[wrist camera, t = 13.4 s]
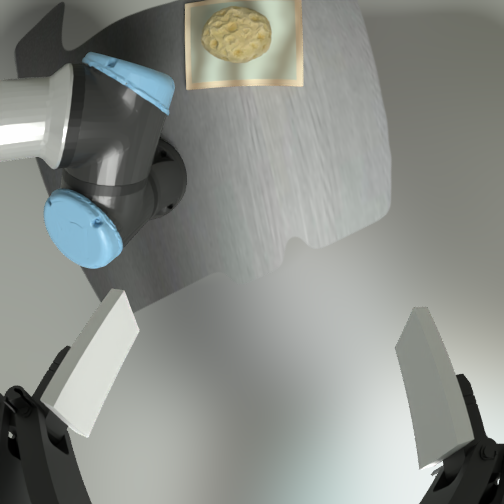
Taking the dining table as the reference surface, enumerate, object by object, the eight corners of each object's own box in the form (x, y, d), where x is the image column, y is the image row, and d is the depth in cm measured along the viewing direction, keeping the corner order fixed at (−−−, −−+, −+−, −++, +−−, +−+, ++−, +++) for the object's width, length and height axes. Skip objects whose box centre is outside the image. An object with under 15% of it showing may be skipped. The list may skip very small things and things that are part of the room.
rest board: (189, 89, 39) (186, 89, 38) (187, 6, 30) (184, 3, 29) (302, 86, 37) (303, 86, 36) (300, -2, 28) (301, -5, 27)
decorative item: (260, 20, 33) (222, -13, 25) (298, 42, 30) (260, 1, 22) (222, 58, 37) (178, 32, 29) (253, 85, 35) (206, 54, 26)
